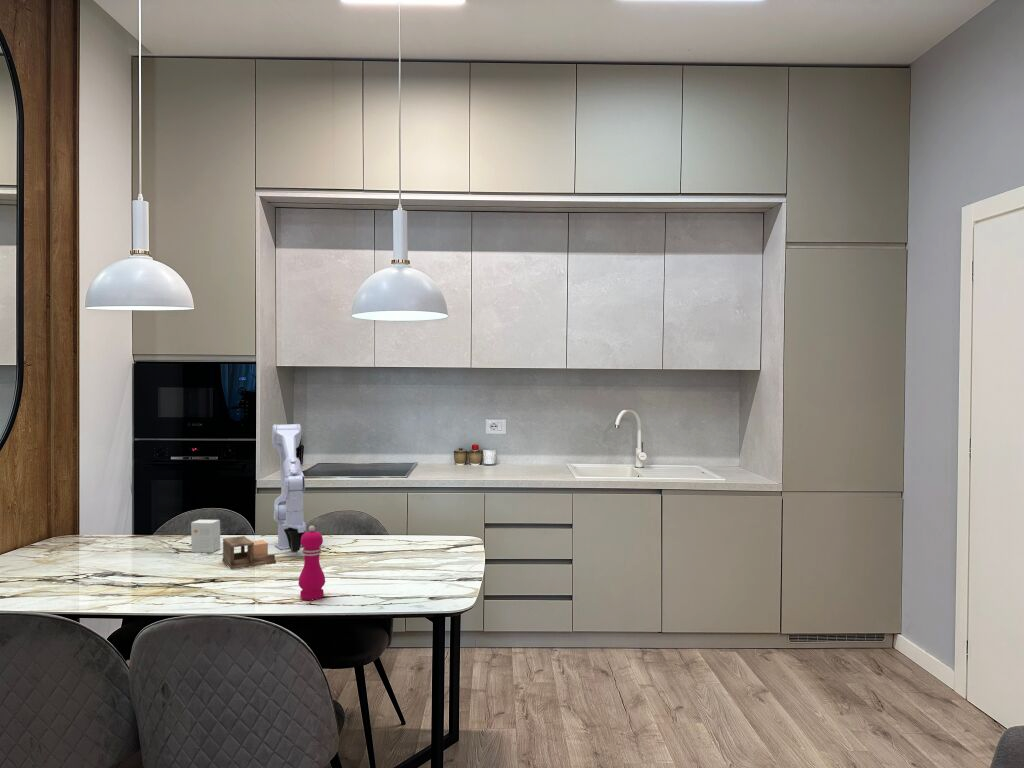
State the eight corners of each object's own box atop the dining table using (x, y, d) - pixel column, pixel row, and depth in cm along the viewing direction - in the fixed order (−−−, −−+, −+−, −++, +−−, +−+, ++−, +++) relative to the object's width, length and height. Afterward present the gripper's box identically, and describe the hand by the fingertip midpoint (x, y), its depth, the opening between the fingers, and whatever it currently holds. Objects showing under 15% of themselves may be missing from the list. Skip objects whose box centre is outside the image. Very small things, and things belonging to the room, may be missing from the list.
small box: (220, 549, 266) (220, 519, 266) (213, 553, 261) (212, 522, 261) (199, 548, 267) (199, 519, 267) (191, 552, 261) (190, 522, 261)
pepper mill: (301, 593, 213) (301, 523, 213) (327, 593, 213) (326, 522, 213) (296, 601, 206) (295, 528, 205) (323, 600, 206) (322, 528, 206)
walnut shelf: (265, 555, 257) (264, 533, 257) (275, 563, 247) (275, 540, 247) (222, 561, 249) (222, 538, 249) (231, 569, 239) (231, 545, 239)
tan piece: (293, 550, 259) (293, 536, 259) (299, 553, 254) (299, 539, 254) (247, 556, 250) (247, 541, 250) (252, 560, 245) (252, 545, 245)
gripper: (276, 508, 260) (276, 547, 260) (289, 515, 248) (289, 555, 248) (296, 506, 264) (296, 544, 264) (310, 512, 252) (310, 553, 252)
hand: (294, 550), depth 256 cm, fingers closed on tan piece, 2 cm apart
